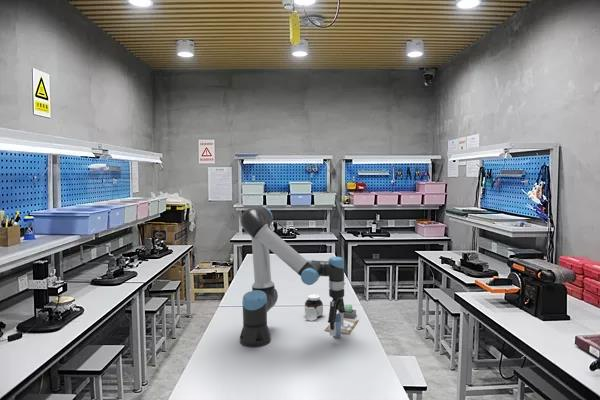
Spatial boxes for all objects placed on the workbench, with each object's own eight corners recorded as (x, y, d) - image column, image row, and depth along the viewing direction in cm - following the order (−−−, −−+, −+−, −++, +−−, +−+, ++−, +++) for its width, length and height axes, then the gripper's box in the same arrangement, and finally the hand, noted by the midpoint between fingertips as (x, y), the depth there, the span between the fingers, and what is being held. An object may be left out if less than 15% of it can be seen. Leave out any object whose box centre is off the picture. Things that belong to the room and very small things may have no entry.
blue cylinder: (339, 338, 200) (339, 317, 199) (331, 337, 202) (331, 316, 201) (342, 335, 204) (341, 314, 203) (334, 334, 205) (334, 313, 205)
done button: (351, 314, 227) (351, 307, 227) (343, 313, 229) (343, 306, 229) (353, 312, 231) (353, 305, 231) (346, 311, 233) (345, 304, 232)
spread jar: (319, 312, 237) (319, 293, 236) (327, 319, 226) (327, 299, 225) (300, 315, 232) (299, 295, 231) (307, 322, 222) (307, 301, 221)
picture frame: (349, 334, 205) (349, 333, 205) (324, 331, 210) (324, 329, 210) (358, 320, 223) (358, 319, 223) (336, 317, 228) (336, 316, 228)
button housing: (353, 319, 226) (353, 314, 225) (340, 317, 228) (340, 312, 228) (356, 315, 232) (356, 309, 232) (344, 313, 235) (344, 308, 235)
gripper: (336, 296, 188) (336, 341, 190) (350, 282, 211) (350, 322, 213) (321, 295, 191) (321, 338, 192) (336, 281, 214) (337, 320, 215)
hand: (336, 330), depth 202 cm, fingers open, 13 cm apart
